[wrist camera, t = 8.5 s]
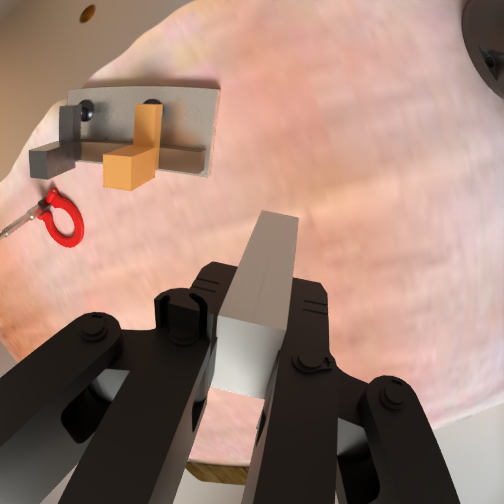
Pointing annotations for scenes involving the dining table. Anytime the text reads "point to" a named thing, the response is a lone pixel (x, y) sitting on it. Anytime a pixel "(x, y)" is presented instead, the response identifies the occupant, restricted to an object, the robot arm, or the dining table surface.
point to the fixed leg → (59, 146)
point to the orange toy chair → (136, 152)
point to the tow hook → (43, 214)
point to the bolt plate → (172, 124)
